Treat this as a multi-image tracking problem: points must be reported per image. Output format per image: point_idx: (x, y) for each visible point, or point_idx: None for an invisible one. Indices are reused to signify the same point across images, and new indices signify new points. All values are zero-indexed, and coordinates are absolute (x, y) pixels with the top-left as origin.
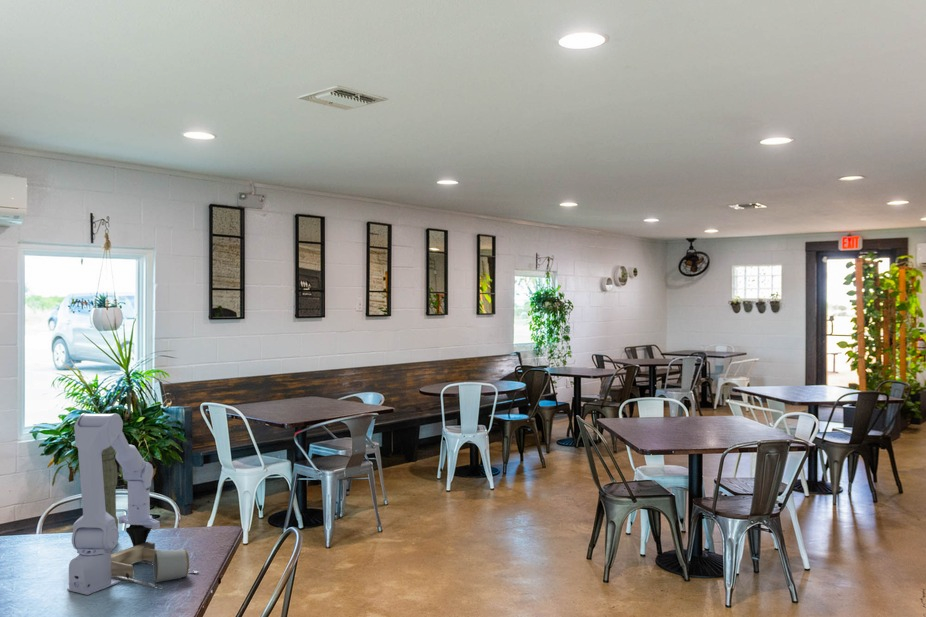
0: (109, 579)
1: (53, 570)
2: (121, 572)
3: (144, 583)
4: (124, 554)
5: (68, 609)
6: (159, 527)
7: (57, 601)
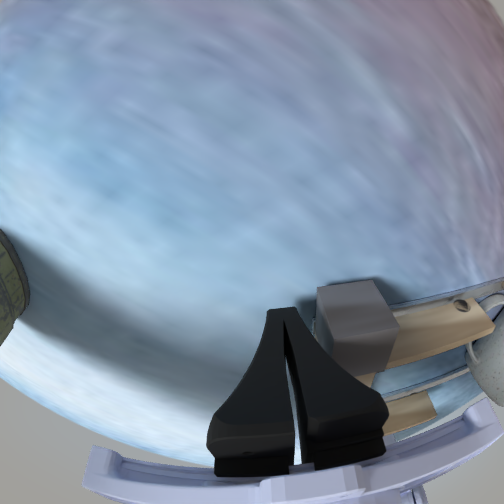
0: None
1: (164, 430)
2: (394, 411)
3: (457, 376)
4: None
5: None
6: (487, 400)
7: None
